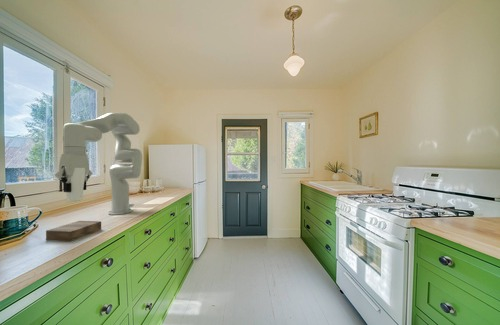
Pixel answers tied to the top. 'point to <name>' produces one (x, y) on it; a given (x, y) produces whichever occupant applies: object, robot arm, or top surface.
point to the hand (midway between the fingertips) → (75, 190)
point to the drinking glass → (76, 185)
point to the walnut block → (73, 230)
